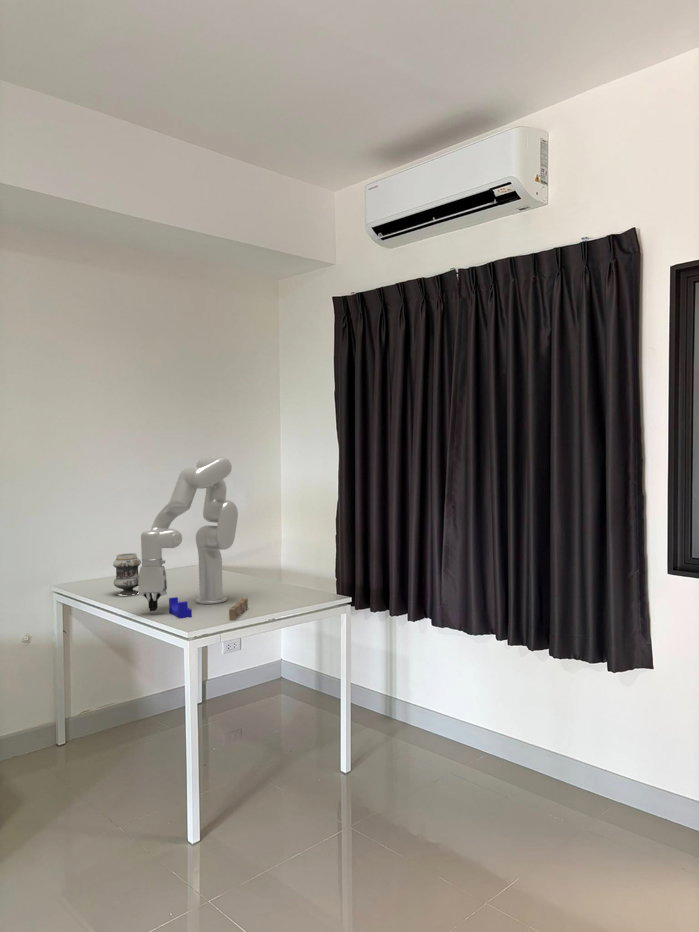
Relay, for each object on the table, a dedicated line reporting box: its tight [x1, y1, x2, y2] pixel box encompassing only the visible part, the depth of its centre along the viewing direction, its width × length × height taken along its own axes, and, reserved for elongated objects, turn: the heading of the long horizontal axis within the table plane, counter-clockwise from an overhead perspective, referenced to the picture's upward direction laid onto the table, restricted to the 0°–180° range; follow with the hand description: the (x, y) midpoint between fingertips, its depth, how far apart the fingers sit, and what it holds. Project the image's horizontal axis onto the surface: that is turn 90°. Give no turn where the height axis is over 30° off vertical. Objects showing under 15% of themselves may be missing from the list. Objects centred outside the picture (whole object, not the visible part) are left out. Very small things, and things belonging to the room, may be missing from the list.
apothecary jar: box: [112, 552, 142, 595], centre depth 311 cm, size 12×12×18 cm
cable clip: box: [168, 596, 193, 619], centre depth 267 cm, size 12×4×6 cm, turn 34°
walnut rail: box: [228, 597, 249, 621], centre depth 266 cm, size 20×2×4 cm, turn 174°
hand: (153, 610), depth 269 cm, fingers closed
